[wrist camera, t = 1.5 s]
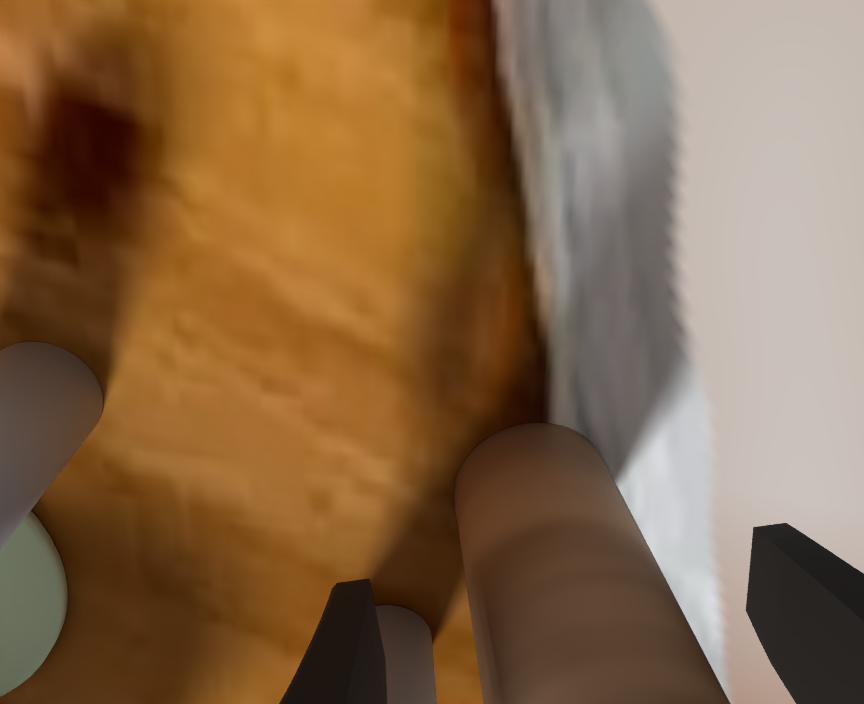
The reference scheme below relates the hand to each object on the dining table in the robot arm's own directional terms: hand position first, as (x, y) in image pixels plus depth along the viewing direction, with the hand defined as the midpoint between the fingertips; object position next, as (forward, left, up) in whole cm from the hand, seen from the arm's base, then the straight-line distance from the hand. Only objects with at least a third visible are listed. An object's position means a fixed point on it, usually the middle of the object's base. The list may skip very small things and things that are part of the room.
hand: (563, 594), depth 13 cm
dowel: (0, 0, -3) cm, 3 cm away
